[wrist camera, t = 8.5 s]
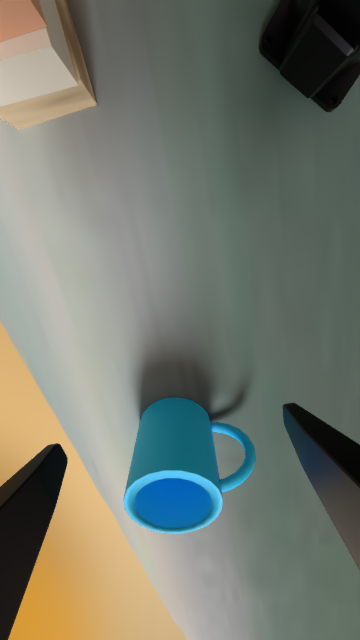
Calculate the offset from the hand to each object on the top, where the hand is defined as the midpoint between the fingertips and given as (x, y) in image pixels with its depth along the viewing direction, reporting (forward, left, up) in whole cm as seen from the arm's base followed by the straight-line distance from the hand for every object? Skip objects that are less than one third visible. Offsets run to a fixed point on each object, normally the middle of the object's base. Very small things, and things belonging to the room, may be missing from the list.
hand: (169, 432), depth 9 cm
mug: (+10, +8, -14) cm, 19 cm away
